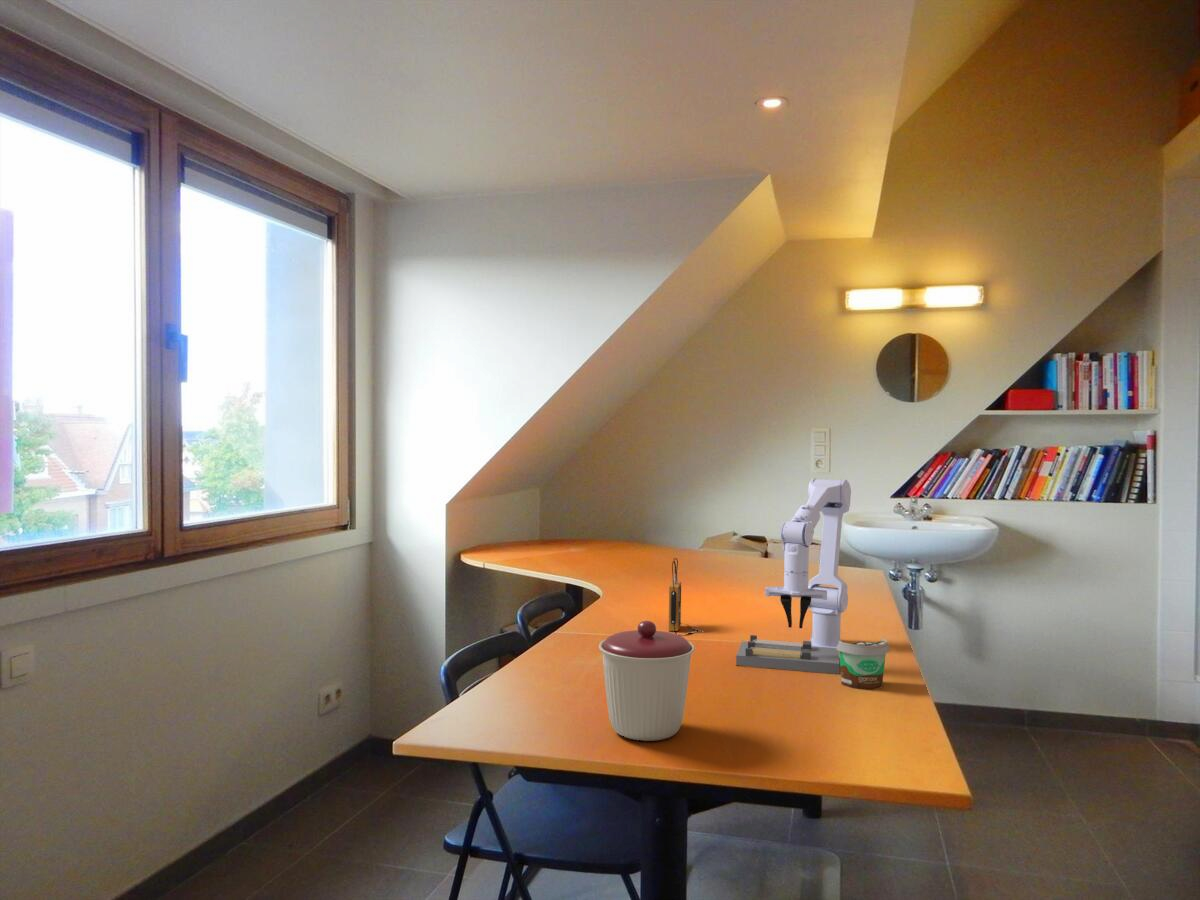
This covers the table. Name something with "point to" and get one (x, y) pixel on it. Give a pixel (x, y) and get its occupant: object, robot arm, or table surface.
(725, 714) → the table surface
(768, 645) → the bar
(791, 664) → the mounting plate
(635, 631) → the canister
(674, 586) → the riveted handle with loop
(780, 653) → the bar
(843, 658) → the food container
